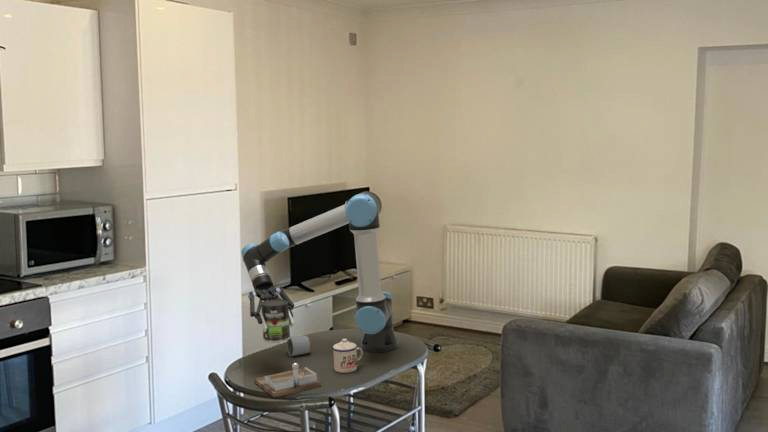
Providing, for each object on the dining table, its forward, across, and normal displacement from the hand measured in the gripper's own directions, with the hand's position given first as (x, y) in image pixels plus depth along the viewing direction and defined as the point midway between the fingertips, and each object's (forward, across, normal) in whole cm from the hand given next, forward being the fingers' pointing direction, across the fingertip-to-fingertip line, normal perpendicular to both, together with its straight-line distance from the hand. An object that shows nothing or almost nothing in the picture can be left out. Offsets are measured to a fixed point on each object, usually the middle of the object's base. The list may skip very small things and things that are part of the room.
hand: (279, 327), depth 287 cm
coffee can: (+2, 0, -6) cm, 6 cm away
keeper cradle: (+24, +4, +3) cm, 25 cm away
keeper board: (+22, +4, -1) cm, 23 cm away
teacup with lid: (+21, -22, -3) cm, 31 cm away
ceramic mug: (+1, -14, -23) cm, 27 cm away
